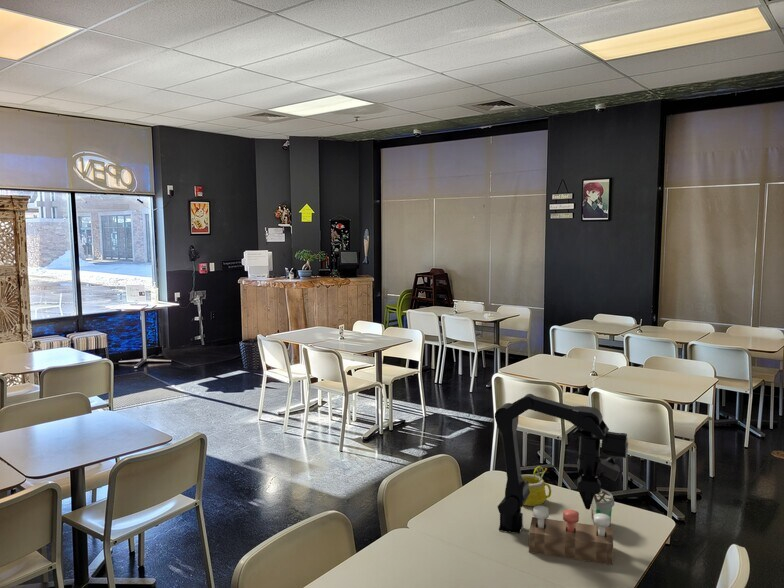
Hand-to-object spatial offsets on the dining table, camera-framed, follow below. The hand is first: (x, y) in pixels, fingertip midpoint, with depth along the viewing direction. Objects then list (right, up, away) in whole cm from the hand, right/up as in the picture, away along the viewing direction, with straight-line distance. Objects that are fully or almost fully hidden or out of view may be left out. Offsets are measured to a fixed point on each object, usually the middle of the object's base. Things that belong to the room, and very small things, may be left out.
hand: (587, 502), depth 173 cm
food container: (+9, -12, +13) cm, 20 cm away
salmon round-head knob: (-5, -10, -1) cm, 11 cm away
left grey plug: (-13, -10, +1) cm, 17 cm away
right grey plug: (+3, -10, -4) cm, 11 cm away
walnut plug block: (-5, -14, -1) cm, 15 cm away
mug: (-9, -11, +31) cm, 34 cm away
